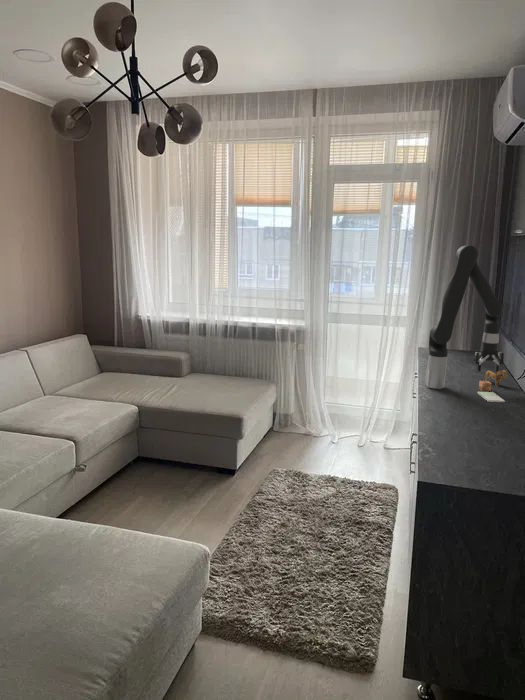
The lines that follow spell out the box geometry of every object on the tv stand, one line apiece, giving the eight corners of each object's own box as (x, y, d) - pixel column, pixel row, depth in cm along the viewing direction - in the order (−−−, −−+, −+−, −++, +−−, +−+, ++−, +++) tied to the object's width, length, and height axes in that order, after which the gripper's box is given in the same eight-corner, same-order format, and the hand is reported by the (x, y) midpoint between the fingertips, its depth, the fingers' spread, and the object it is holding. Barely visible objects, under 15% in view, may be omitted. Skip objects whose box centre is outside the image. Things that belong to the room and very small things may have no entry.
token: (481, 391, 263) (482, 383, 262) (478, 388, 268) (479, 380, 267) (490, 391, 263) (491, 383, 262) (487, 389, 268) (488, 381, 267)
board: (487, 401, 246) (488, 400, 246) (477, 393, 260) (477, 391, 260) (504, 402, 246) (504, 400, 246) (492, 393, 259) (493, 392, 259)
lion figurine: (507, 386, 273) (510, 370, 271) (502, 387, 270) (504, 371, 268) (483, 379, 285) (484, 364, 283) (477, 381, 282) (479, 365, 280)
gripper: (479, 342, 256) (476, 373, 260) (507, 342, 256) (504, 373, 259) (473, 339, 264) (470, 369, 267) (501, 340, 263) (498, 370, 267)
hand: (487, 371), depth 263 cm, fingers open, 8 cm apart
